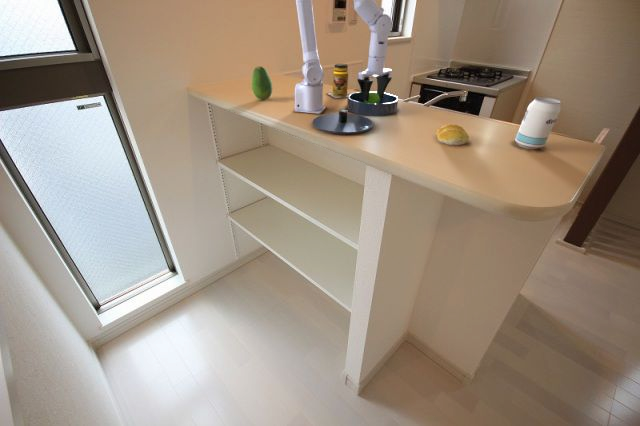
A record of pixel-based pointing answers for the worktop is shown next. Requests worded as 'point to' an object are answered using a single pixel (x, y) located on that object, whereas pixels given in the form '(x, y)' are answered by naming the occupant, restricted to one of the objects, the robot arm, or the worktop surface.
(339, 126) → the lid
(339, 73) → the condiment
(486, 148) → the worktop surface
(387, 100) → the pot
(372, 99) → the lime
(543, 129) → the beverage can
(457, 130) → the bread roll
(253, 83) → the fruit
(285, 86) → the worktop surface
